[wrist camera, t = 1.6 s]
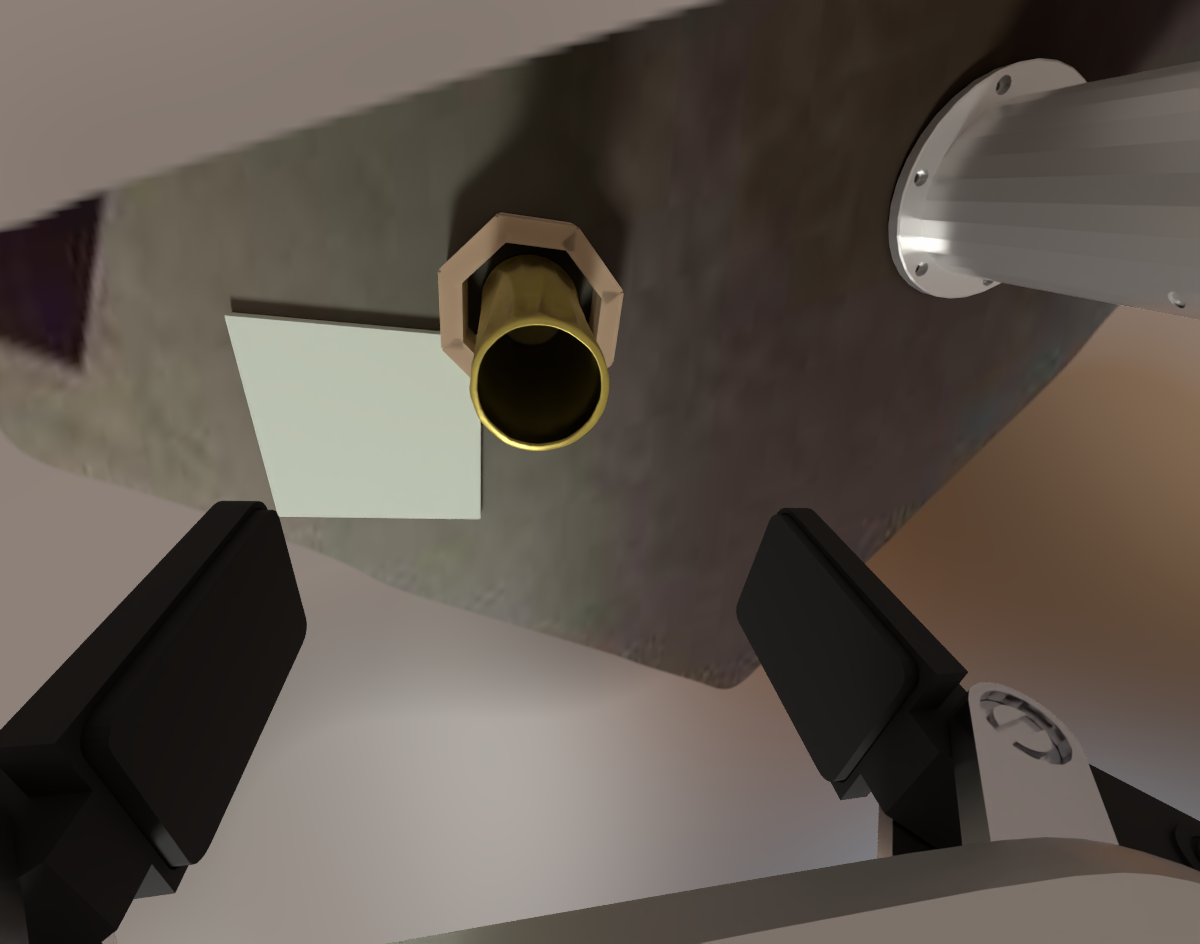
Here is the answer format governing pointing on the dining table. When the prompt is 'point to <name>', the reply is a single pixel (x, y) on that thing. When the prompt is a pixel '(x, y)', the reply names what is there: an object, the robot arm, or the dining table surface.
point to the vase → (536, 358)
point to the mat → (359, 419)
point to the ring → (533, 233)
